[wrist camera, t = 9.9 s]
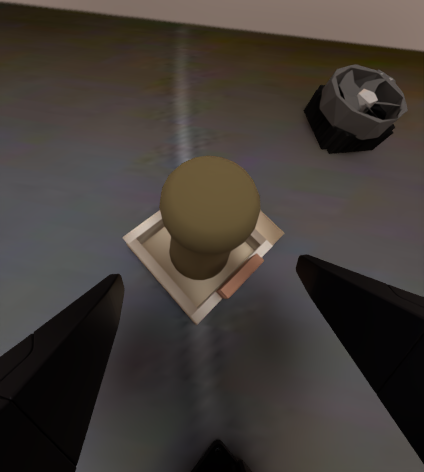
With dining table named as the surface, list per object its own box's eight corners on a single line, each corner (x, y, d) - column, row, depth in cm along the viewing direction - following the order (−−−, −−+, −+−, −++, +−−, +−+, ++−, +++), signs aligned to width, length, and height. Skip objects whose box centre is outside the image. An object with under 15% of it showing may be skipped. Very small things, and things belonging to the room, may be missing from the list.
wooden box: (195, 323, 17) (199, 334, 12) (129, 246, 19) (107, 226, 14) (280, 236, 21) (309, 215, 16) (219, 178, 23) (228, 142, 18)
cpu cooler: (353, 122, 21) (320, 62, 24) (319, 158, 26) (296, 105, 29) (425, 118, 23) (386, 62, 25) (380, 153, 28) (352, 103, 31)
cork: (197, 294, 17) (211, 287, 7) (156, 246, 18) (114, 178, 8) (241, 252, 19) (305, 196, 9) (202, 210, 20) (216, 116, 10)
